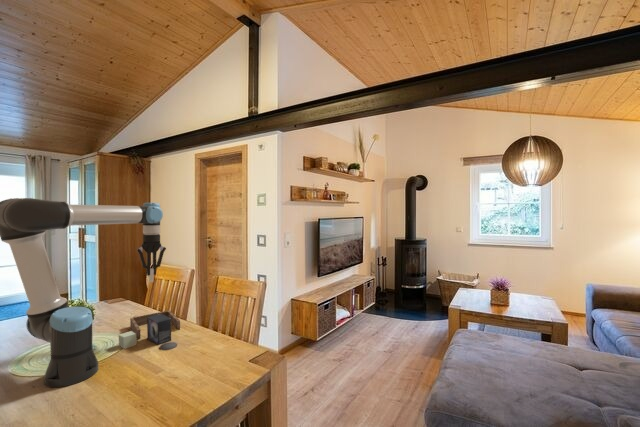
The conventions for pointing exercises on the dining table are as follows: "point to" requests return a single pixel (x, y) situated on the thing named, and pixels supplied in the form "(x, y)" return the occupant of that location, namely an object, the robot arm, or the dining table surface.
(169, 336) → the small box
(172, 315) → the brown u-shaped wall
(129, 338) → the sage cube
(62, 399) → the dining table surface
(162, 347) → the coaster
